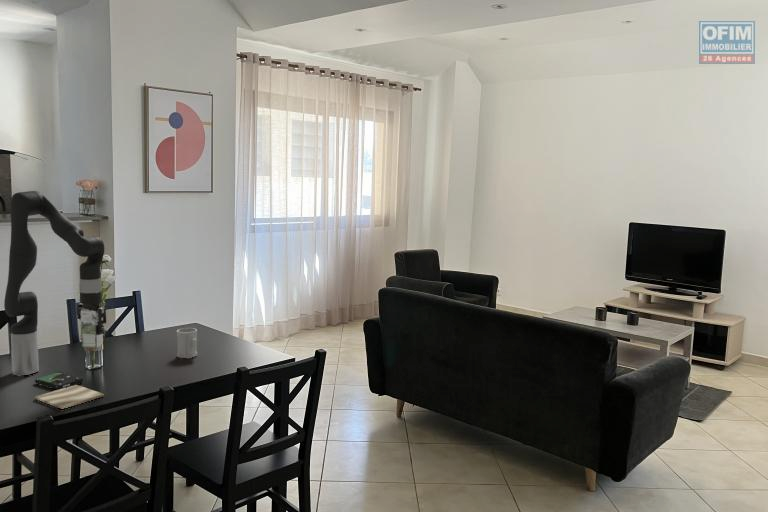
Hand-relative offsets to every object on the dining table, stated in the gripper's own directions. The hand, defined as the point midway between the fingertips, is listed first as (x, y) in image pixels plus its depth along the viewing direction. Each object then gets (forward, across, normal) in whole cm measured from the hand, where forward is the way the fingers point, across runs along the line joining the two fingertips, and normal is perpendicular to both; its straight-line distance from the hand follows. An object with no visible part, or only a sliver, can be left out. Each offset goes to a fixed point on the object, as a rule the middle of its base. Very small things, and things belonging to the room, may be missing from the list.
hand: (92, 332), depth 233 cm
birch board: (+22, +2, -11) cm, 25 cm away
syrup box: (+5, 0, 0) cm, 5 cm away
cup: (+22, -4, +50) cm, 55 cm away
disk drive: (+23, -16, -4) cm, 28 cm away
